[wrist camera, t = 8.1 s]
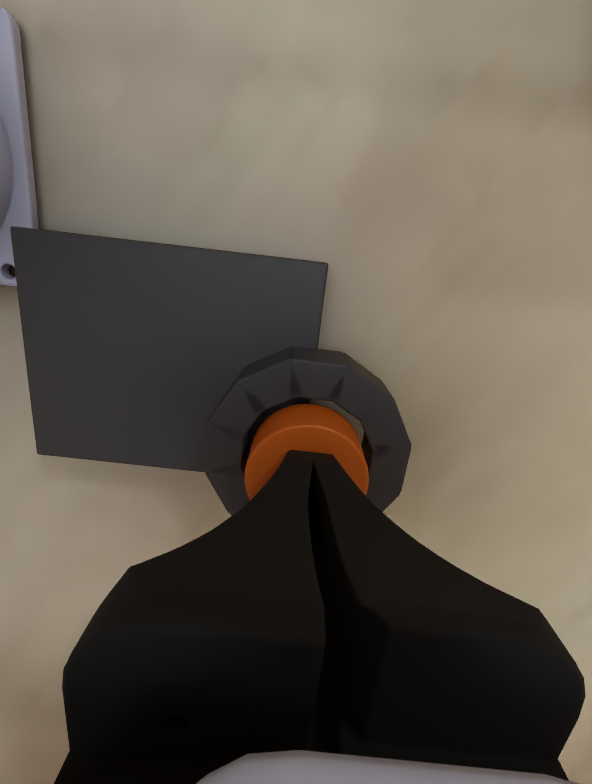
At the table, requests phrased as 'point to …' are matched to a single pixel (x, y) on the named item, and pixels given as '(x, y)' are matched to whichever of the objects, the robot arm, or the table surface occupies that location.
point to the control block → (184, 357)
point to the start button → (304, 443)
